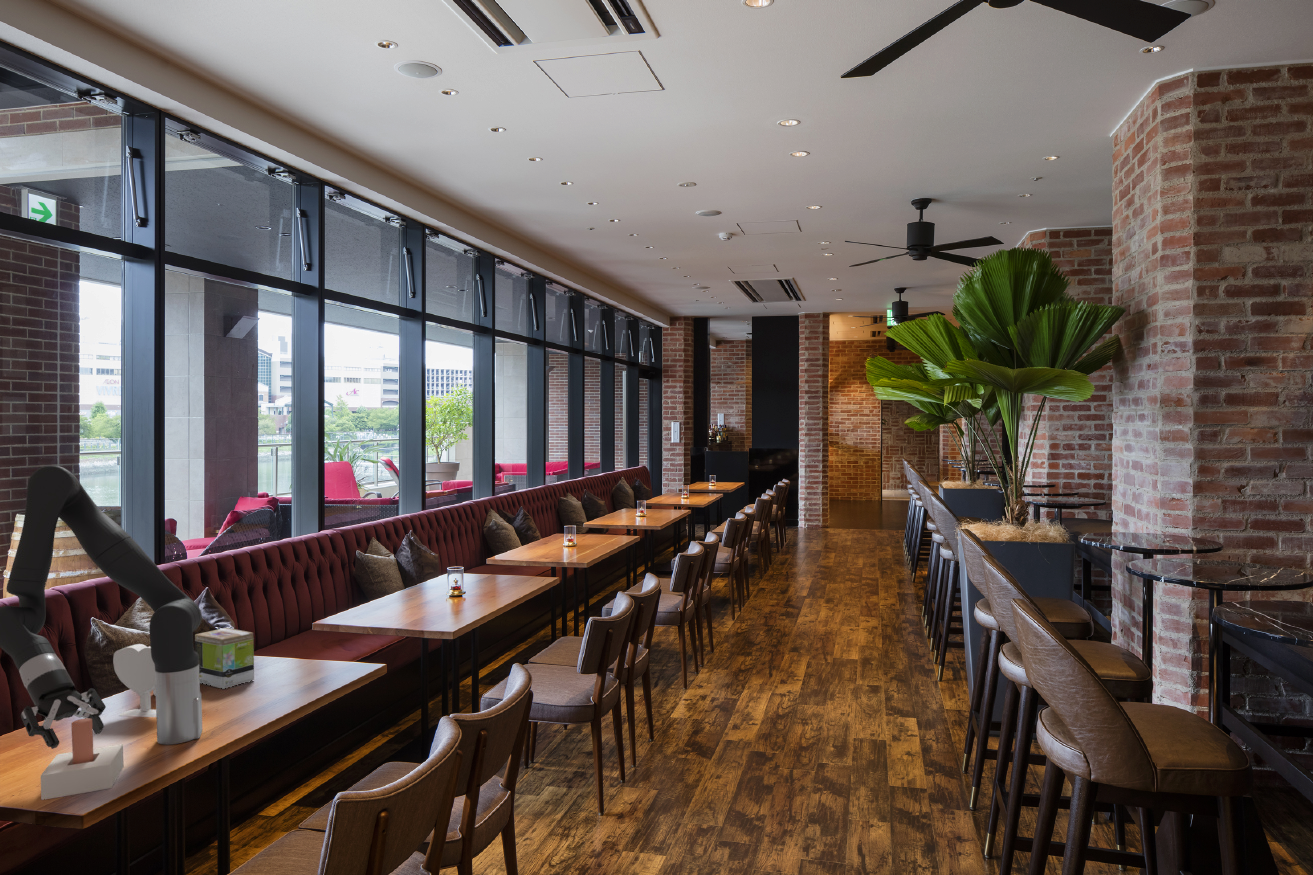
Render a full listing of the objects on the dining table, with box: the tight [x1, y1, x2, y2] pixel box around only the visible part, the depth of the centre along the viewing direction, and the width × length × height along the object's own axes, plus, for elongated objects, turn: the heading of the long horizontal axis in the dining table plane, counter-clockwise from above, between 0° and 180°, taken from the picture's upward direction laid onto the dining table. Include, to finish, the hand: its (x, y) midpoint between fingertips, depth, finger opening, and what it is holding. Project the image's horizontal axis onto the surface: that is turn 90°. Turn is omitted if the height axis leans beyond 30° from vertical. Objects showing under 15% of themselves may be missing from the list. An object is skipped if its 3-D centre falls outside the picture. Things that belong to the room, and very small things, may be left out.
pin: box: [70, 718, 94, 765], centre depth 170 cm, size 4×4×12 cm
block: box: [40, 743, 124, 801], centre depth 170 cm, size 12×12×5 cm
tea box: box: [194, 627, 255, 690], centre depth 239 cm, size 15×10×15 cm, turn 58°
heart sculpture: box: [112, 643, 156, 718], centre depth 213 cm, size 16×5×18 cm, turn 81°
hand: (78, 738), depth 171 cm, fingers open, 8 cm apart
